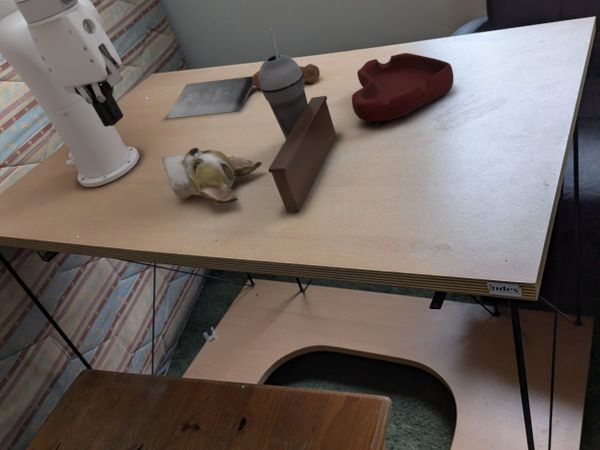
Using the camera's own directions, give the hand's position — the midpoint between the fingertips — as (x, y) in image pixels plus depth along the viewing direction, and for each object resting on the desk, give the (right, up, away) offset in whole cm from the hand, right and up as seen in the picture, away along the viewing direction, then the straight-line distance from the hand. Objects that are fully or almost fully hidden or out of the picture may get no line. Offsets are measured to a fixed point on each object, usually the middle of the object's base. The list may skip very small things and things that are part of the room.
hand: (114, 121), depth 87 cm
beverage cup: (+29, -2, +8) cm, 31 cm away
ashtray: (+47, +5, +9) cm, 48 cm away
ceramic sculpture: (+15, -11, +4) cm, 19 cm away
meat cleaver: (+17, +11, +31) cm, 37 cm away
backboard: (+31, -8, -1) cm, 32 cm away
